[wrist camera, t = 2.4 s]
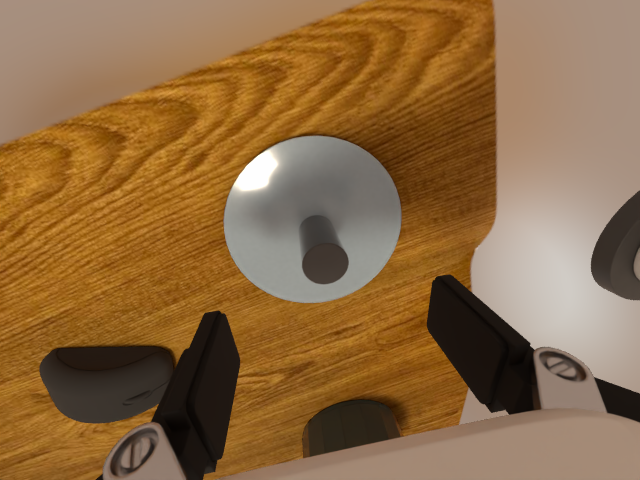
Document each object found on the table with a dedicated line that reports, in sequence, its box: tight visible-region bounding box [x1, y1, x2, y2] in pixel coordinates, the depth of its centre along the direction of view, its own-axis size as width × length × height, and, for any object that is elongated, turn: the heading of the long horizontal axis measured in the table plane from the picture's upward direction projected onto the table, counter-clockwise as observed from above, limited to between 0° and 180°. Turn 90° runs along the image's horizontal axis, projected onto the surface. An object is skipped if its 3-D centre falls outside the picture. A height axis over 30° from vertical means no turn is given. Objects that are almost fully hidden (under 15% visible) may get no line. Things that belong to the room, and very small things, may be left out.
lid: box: [224, 136, 401, 303], centre depth 18 cm, size 15×15×7 cm
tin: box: [302, 400, 404, 458], centre depth 31 cm, size 14×14×10 cm
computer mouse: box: [40, 347, 174, 423], centre depth 23 cm, size 6×11×4 cm, turn 84°
